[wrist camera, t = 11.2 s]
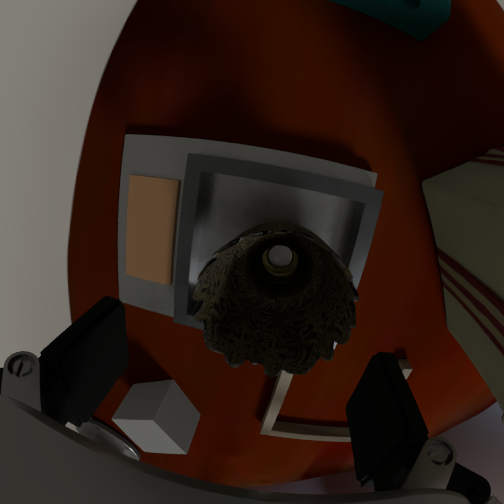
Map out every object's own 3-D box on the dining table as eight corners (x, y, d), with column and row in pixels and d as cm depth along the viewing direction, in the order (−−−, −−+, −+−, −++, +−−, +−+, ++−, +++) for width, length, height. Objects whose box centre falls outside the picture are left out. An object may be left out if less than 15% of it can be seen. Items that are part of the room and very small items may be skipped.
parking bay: (360, 432, 26) (361, 441, 25) (261, 423, 27) (260, 433, 25) (407, 359, 22) (412, 369, 21) (287, 344, 23) (287, 355, 21)
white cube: (161, 416, 29) (144, 451, 23) (133, 383, 28) (111, 418, 22) (201, 414, 28) (186, 454, 22) (173, 378, 26) (152, 420, 20)
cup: (350, 224, 18) (389, 268, 10) (310, 315, 20) (318, 391, 13) (244, 187, 18) (213, 207, 11) (215, 284, 21) (179, 350, 13)
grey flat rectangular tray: (324, 341, 22) (328, 364, 19) (125, 296, 23) (108, 311, 21) (373, 172, 18) (387, 175, 15) (132, 134, 19) (110, 133, 16)
